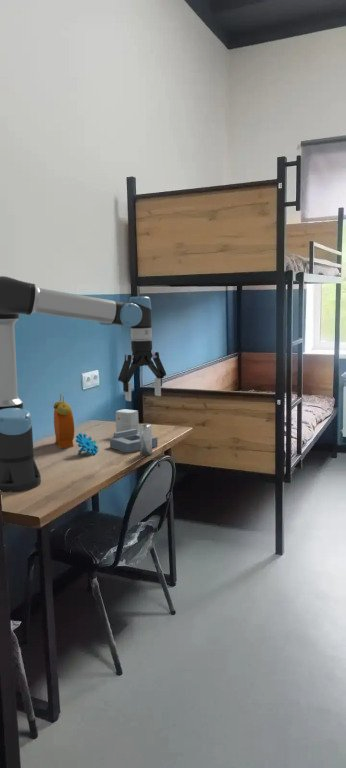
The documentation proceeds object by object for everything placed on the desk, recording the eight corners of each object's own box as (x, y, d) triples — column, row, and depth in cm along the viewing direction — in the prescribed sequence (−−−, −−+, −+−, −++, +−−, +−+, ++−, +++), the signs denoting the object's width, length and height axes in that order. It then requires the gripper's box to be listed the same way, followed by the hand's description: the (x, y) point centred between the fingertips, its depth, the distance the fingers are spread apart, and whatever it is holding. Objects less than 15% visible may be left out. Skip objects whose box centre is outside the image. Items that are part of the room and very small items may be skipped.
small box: (139, 435, 246) (138, 410, 245) (131, 437, 242) (130, 412, 240) (124, 432, 251) (123, 408, 249) (116, 435, 246) (115, 411, 244)
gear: (88, 454, 212) (73, 432, 215) (78, 464, 214) (63, 443, 217) (105, 450, 222) (91, 430, 225) (96, 460, 224) (81, 440, 227)
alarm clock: (75, 447, 228) (73, 396, 225) (59, 449, 226) (57, 398, 223) (69, 439, 240) (67, 391, 237) (54, 441, 238) (51, 393, 235)
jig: (127, 453, 219) (127, 439, 218) (110, 446, 228) (109, 433, 227) (157, 446, 227) (157, 432, 227) (139, 440, 237) (138, 427, 236)
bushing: (144, 456, 213) (144, 427, 212) (137, 454, 217) (136, 425, 215) (154, 454, 216) (153, 425, 215) (147, 451, 220) (146, 423, 218)
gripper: (119, 342, 200) (121, 404, 203) (174, 338, 216) (176, 394, 219) (106, 341, 206) (109, 401, 209) (161, 337, 221) (163, 392, 225)
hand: (143, 398), depth 214 cm, fingers open, 13 cm apart
